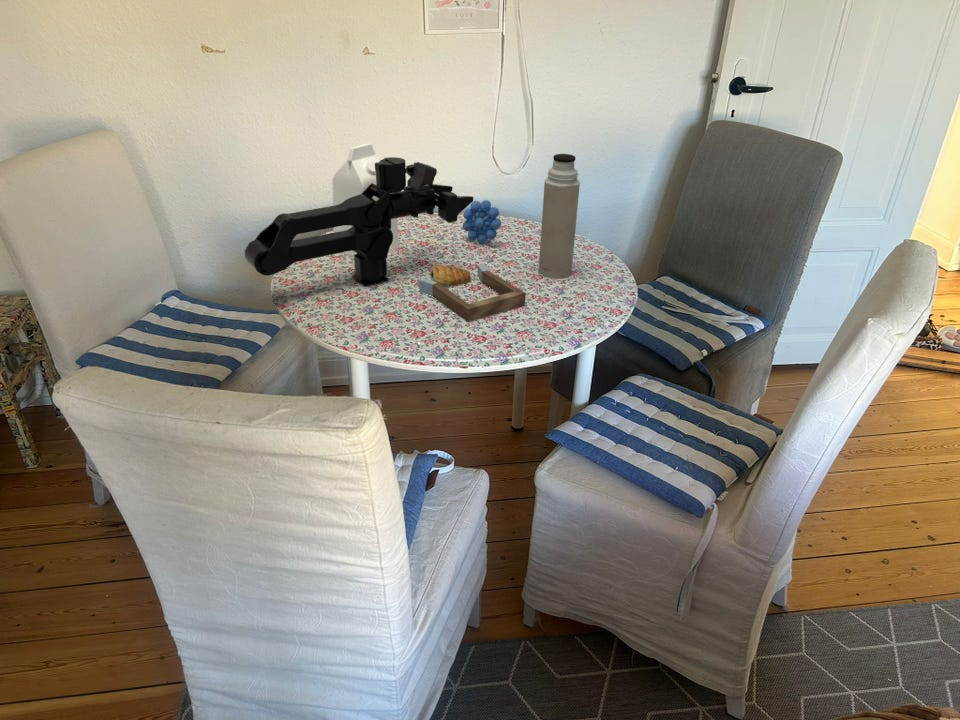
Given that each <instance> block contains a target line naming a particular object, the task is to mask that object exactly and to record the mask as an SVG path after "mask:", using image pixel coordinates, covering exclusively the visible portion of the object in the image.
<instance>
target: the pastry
mask: <svg viewBox="0 0 960 720" xmlns="http://www.w3.org/2000/svg"><path fill="white" fill-rule="evenodd" d="M430 276H431V278H430V280H431V281H434V282H437V283H439V284H440V285H442V286H443V287H445V286H446V287H452V286H451V285H456V286H459V285H458V284H461V285H464V284H463V283H465V284H467V283H470V281H471V280H472V279H471V276H472V275H471V271H469V270H467V269H464V268H462V269H461V268H460V267H456V266H450V265H448V264H446V265H437V266H432V267H431V269H430Z"/></svg>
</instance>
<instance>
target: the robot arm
mask: <svg viewBox="0 0 960 720" xmlns="http://www.w3.org/2000/svg"><path fill="white" fill-rule="evenodd" d="M375 171H376V185H375V184H373V183H371V184H370V185H369V186H368V187H367V188H366V189H365V190H364V191H363V192H362V193H361V194H360V195H357V196H354V197H351V198H349V199H346V200H345V201H344V202H342V203H341V204H338V205H335V206H333V205H331V206H330V205H329V206H324V207H318V208H313V209H308V210H303V211H302V210H301V211H295V212H290V213H286V212H284V213H280V214H278V215H277V216H276V217H275V219H273V221H272V222H271V224H269V225H268V226H267V227H265V228H264V229H263V230H261V231H260V232H259V234H258V235H257V236H256V238H255V239H254V240H251V241H250V242H248V245H246V246H245V247H246V248H245V249H244V258H245V260H246V261H247V262H248V264H249V265H250V266H251V267H253V269H255V271H256V272H257V273H259V274H261V275H262V276H265V277H267V276H272V275H274V274H275V275H276V274H278V273H280V272H283V271H285V270H286V269H288V268H289V267H291V265H293V264H294V263H298V262H302V261H308V260H312V259H316V258H322V257H327V256H331V255H337V254H340V253H341V254H343V253H342V252H347V251H355V252H356V253H357V254H355V255H354V257H353V260H354V262H353V263H354V274H352V278H353V279H354V280H355V281H356V282H358V283H359V284H360V285H361V286H363V287H368V286H373V285H377V284H381V283H385V282H389V281H390V280H389V277H387V275H388V269H387V268H388V266H387V265H388V264H387V263H388V261H387V257H388V254H389V252H390V251H389V248H390V245H391V244H392V241H393V233H392V231H391V230H390V229H391V219H395V218H397V219H399V218H405V217H409V216H410V217H411V218H414V219H415V218H419V215H421V214H425V213H426V214H427V215H429V216H431V215H434V213H435V212H434V210H435V209H436V207H437V210H438V211H437V212H438V213H437V214H438V215H437V216H438V217H439V218H441V220H443V221H445V222H447V223H448V224H451V223H456V222H457V221H458V216H459V215H460V214H461V213H462V212H463V211H465V210H466V208H467V207H468V206H470V205H471V204H472V203H473V202H474V196H471V195H470V196H469V195H457V194H456V193H454V192H452V191H453V186H451V185H444V184H436V183H434V181H435V177H436V176H437V174H438V170H437V168H436V167H433V166H431V165H429V164H425V163H423V162H419V161H416V162H413V164H409V165H406V160H405V158H402V157H393V156H392V157H391V156H390V157H384V158H383V159H380V161H379V162H378V163H375ZM407 175H408V177H409V178H408V180H407ZM373 196H375V197H377V198H379V199H378V200H377V201H376V200H374V199H372V198H373ZM343 225H351V226H352V227H351V228H350V229H348V230H346V231H340V232H335V233H334V232H330V233H325V234H320V235H315V236H310V237H309V236H308V237H304V238H299V239H295V238H296V236H297V235H300V234H305V233H311V232H315V231H322V230H326V229H332V228H333V229H334V227H338V226H343ZM388 251H389V252H388Z"/></svg>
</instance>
